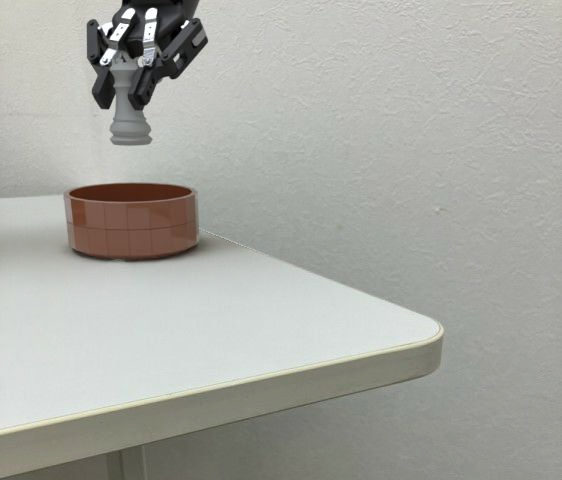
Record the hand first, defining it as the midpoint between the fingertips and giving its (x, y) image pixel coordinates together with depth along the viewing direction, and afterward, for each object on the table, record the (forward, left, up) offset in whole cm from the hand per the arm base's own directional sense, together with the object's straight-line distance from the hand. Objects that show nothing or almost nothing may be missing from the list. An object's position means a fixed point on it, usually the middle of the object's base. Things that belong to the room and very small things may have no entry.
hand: (117, 103), depth 66 cm
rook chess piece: (0, +2, -4) cm, 5 cm away
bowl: (-1, +3, -15) cm, 15 cm away
